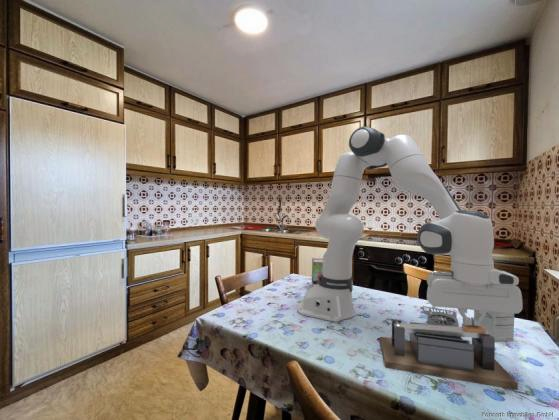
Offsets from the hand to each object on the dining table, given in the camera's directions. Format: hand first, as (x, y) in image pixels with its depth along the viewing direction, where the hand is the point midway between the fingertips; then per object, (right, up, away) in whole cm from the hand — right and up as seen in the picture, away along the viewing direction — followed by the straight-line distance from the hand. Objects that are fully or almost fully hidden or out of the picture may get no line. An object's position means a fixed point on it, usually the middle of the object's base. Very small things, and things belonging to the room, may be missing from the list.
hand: (471, 325), depth 65 cm
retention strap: (-7, -3, +2) cm, 8 cm away
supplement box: (+19, -11, +16) cm, 27 cm away
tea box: (-26, -10, +61) cm, 67 cm away
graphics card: (+6, -11, +23) cm, 27 cm away
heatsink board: (-8, -11, +2) cm, 13 cm away
